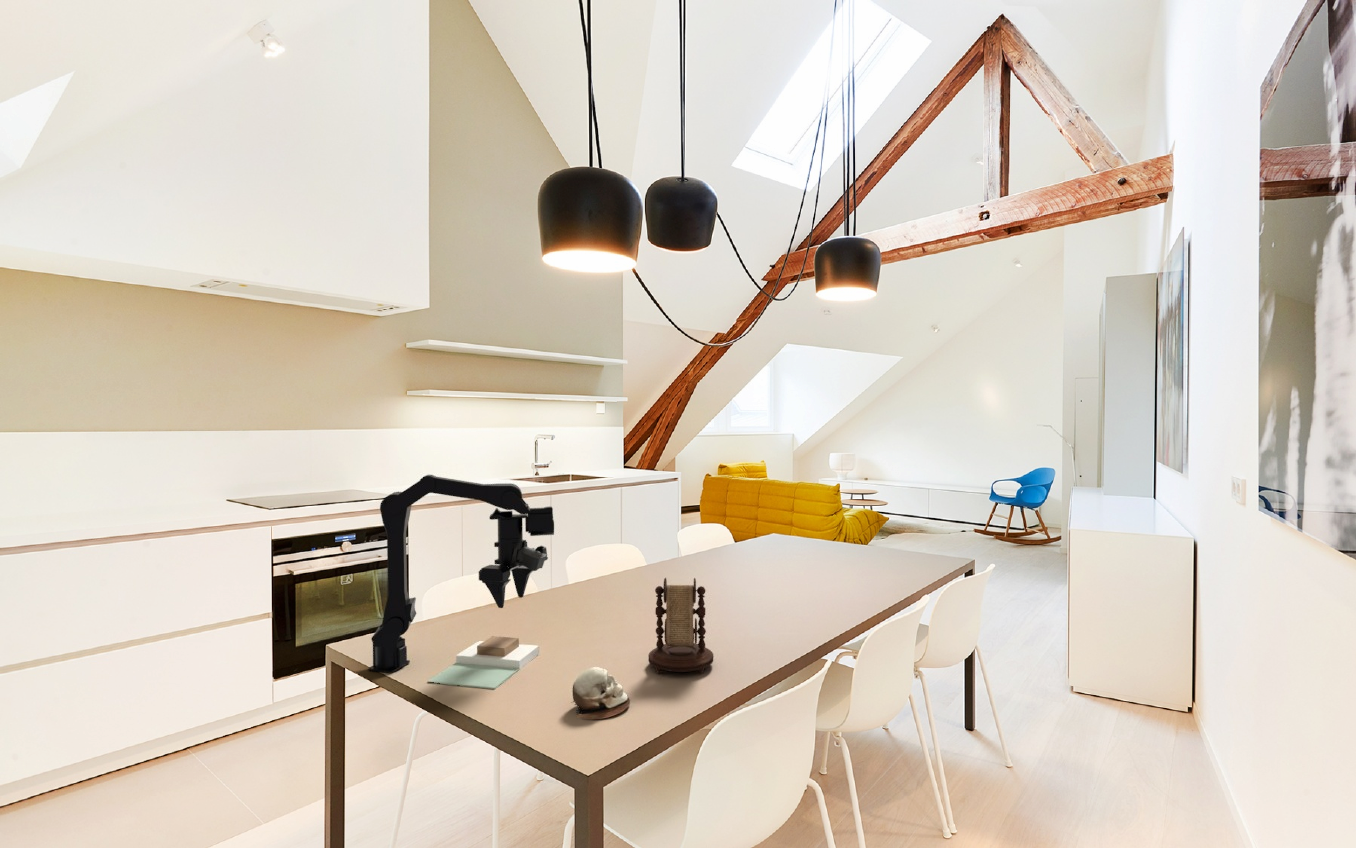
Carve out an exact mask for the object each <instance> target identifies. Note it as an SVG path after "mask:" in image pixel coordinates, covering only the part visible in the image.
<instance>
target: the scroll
mask: <svg viewBox="0 0 1356 848" xmlns="http://www.w3.org/2000/svg"><path fill="white" fill-rule="evenodd" d="M667 582H668V581H667V577H664V579H663V587H662V586H660V585H658V586H656V587H655V589H654V591H655V594H656V595H655V597H656V603H655V605H656V607H655V611H654V612H655V613H654V614H655V616H656V618H657V620H656V622H655V623H656V628H655V633H656V635H657V636H656V639H657V640H656V644H655V646H656V647H655V648H654V649H652V650H650V652H649V653H648V663H649V664H650V665H651V666H652V667H654V668H655V670H656V671H655V672H656V673H657V674H658V675H659V674H661V672H662V671H665V672H675V673H687V672H694V671H695V672H696V671H698V673H699V674H700V675H703V674H704V669H705V668H707V667H709V666H710V665H712V664H713V662H714V653H713V651H712V650H710V649H709V648H707V647H706V642H705V638H706V636H705V635H706V633H707V630H706V628H705V625H706V623H705V620H704V618H706V617H705V616H706V607H705V604H706V603H705V599H704V598H706V596H705V593H706V588H705V587H704V586H702V585H701V586H698V587H697V580H696V577H694V578H693V584H692V585H691V584H668V583H667ZM697 594H698V595H697ZM697 597H698V601H697ZM696 602H697V605H698V607H697V608H694V606H695V604H696ZM664 604H666V608H664V606H663V605H664ZM664 615H666V616H665V618H664V620H665V621H664V622H663V617H664ZM694 615H697V616H698V618H699V619H698V620H697V618H696V617H695V618H694ZM663 625H664V627H663ZM663 635H664V636H663ZM663 638H664V641H663ZM661 670H662V671H661Z"/></svg>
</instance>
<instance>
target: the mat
mask: <svg viewBox="0 0 1356 848" xmlns="http://www.w3.org/2000/svg"><path fill="white" fill-rule="evenodd" d="M518 671H520V670H519V669H518V668H507V667H496V666H484V665H473V664H461V663H456V662H455V663H453V664H452V665H450V666H449V667H447V668H445V669H444V670H442V671H441V672H440V673H438V674H436V675H435V676H433V677H432V678H430V679H429V680H427V682H434V683H433V684H437V683H440V684H439V685H447V686H448V685H449V686H457V685H460V686H459V687H469V688H479V689H480V688H481V689H489V690H496V689H497V688H498V687H500V686H501V685H502V684H503V683H504V682H506V681H507V680H508V679H510V678H511V677H512V676H513V675H515V674H516V673H517V672H518Z"/></svg>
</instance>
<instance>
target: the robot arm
mask: <svg viewBox="0 0 1356 848" xmlns="http://www.w3.org/2000/svg"><path fill="white" fill-rule="evenodd" d="M429 494H436V495H442V496H450V497H456V498H463V499H469V500H475V501H481V502H483V503H486V504H489V505H491V506H493V507H496V508H495V509H494V511H493V512H492V513H491V514H490V515H489V520H491V521H493V520H497V541H496V542H494V544H493V545H494V546H493V547H494V548H497V558H496V559H494V564H489V565H486V566H483V567H482V568H480V570H479V571H478V581H481V583H483V584H484V585H485V586H486V588H487V589H488V591H489V593H490V594H491V596H492V598H493V600H494V602H495V604H496V605H497V607H498V609H504V604H505V597H506V586H507V585H508V584H509V583H510V582H511V578H510V577H511V576H512V579H513V583H514V586H515V590H516V591H515V592H516V593H517V597H518V598H524V595H525V591H526V589H527V584H528V582H529V579H530V575H531V574H532V573H533V572H536V571H538V570H540V569H543V566H544V565H545V564H544V563H545V561H547V560H548V559H549V557H548V551H547V547H546V546H544V545H539V546H537V547H536V548H535V547H529V546H528V541H527V539H523V538H524V537H523V535H524V534H523V529H524V528H523V519H525V520H524V522H525V523H524V524H525V533H528V534H529V536H530V537H538V536H554V535H555V520H554V511H553V509H554V508H553V506H545V507H531V506H529V504H528V503H527V502H526V501H525V500H524V498H523V493H522V490H521V488H520V487H519V486H518V485H517V484H515V483H507V482H505V483H478V482H471V481H466V480H459V479H453V478H447V477H441V476H436V475H433V474H426V475H424V476H423V477H421V478H420V479H419V480H418V481H417V482H415V483H414V484H412V485H411V486H409V487H408V488H407V489H405V490H403V491H394V492H392V493H390V494H388V495H387V496H385V497H384V498H383V499H382V501H381V502H380V506H379V509H380V510H379V511H380V515H381V519H382V524H383V527H384V529H385V532H386V544H387V545H386V551H387V553H386V554H387V556H386V557H387V558H386V561H387V599H386V603H385V607H384V609H383V616H382V621H381V623H380V625H378V628H377V629H376V631H375V632H374V634H373V635H372V636H371V642H372V666H369V667H368V668H367V670H368V671H371V672H381V673H394V672H395V673H396V671H398V670H399V669H402V668H403V667H405V666H407V665H409V664H410V660H409V659H408V657H407V656H408V652H407V650H408V649H407V647H408V646H407V645H406V638H403V635H404V634H405V633H406V632H408V630H409V627H410V626H411V624H412V623H413V621H414V619H415V617H416V616H417V611H416V599H417V598H416V597H411V598H410V595H409V593H408V577H407V575H408V572H407V571H408V568H407V566H408V565H407V564H408V563H407V562H408V561H407V529H408V525H409V521H410V516H411V512H412V511H411V510H412V505H413V504H415V503H417V502H418V501H419V500H421V499H422V498H424V497H425V496H427V495H429ZM499 508H500V509H502V510H503V511H501V510H500V509H499ZM513 511H515V512H517V513H518V514H517V513H516V514H515V513H513Z"/></svg>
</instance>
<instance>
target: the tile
mask: <svg viewBox="0 0 1356 848" xmlns="http://www.w3.org/2000/svg"><path fill="white" fill-rule="evenodd" d="M519 644H520V639H519V637H510V636H509V637H508V636H507V637H506V636H494V635H492V636H490V637H489V638H487V639H486V640H484V642H482V643H481V644H479V645H478V646H477V655H488V656H500V657H505V656H506V655H508V654H509V653H511V652H512V651H513V650H515V649H516V648H518V647H519Z"/></svg>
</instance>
